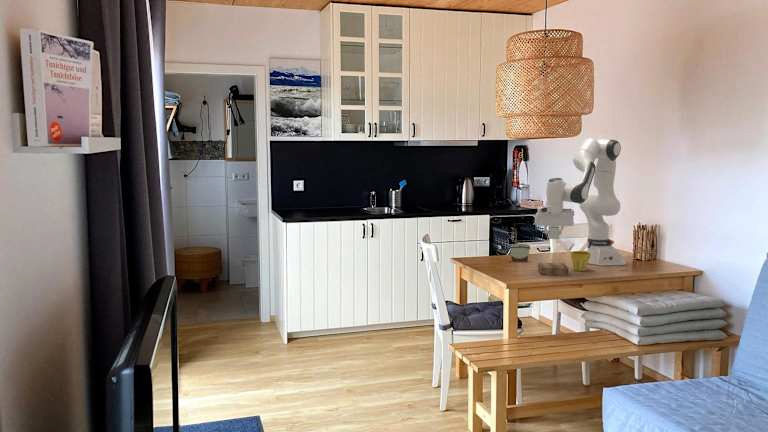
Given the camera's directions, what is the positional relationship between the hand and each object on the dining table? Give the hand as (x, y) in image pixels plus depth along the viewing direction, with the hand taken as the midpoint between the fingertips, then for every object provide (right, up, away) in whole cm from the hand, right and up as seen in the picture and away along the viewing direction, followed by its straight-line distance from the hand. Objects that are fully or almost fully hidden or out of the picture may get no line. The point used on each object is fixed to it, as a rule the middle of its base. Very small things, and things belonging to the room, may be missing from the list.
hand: (553, 234), depth 348 cm
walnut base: (0, -21, +2) cm, 21 cm away
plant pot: (+17, -20, +10) cm, 28 cm away
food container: (-11, -17, +35) cm, 40 cm away
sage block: (0, -2, 0) cm, 2 cm away
